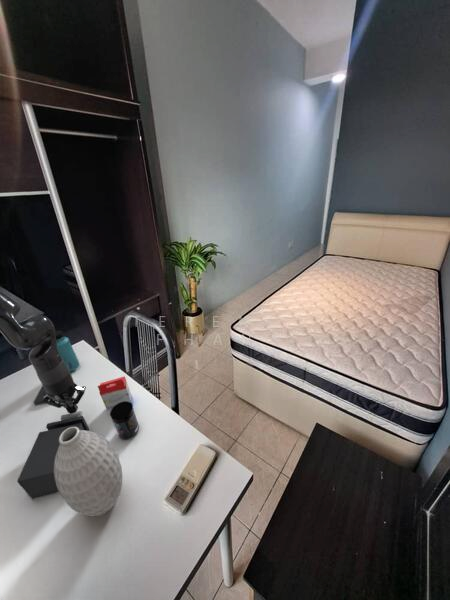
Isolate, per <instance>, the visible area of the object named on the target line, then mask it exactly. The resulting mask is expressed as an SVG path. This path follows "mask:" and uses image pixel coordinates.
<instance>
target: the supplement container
mask: <svg viewBox="0 0 450 600" xmlns="http://www.w3.org/2000/svg"><path fill="white" fill-rule="evenodd" d="M135 412H136V411H135V409H134V405H133V406H132V404H131V403H130V402H127V401H124V402H120V403H118V404H117V405H115V406H114V407H113V408H112V410H111V412H110V415H109V416H110V418H111V421H112V423H113V425H114V428H115V430H116V433H117V435H118V437H119V438H120V439H122V440H131V439H132V438H134V437H135V436H136V435H137V433H138V431H139V429H140V425H139V422H138V421H139V420H138V419H137V415H136V413H135Z"/></svg>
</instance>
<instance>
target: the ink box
mask: <svg viewBox="0 0 450 600" xmlns="http://www.w3.org/2000/svg"><path fill="white" fill-rule="evenodd" d="M97 389H98V392H99V395H100V398H101V400H102V402H103V405H104V407H105V409H106V411H107V413H108V414H107V415H109V416H110V412H111V410H112V408H113V407H114V406H115V405H117V404H118V403H120V402H124V401H127V402H130V403H131V404H132V406H133V407H134V401H133V396H132V393H131V390H130V386H129V384H128V382H127V379H126V376H121V377H116V378H114V379H110V380H107V381H104V382H100V383H99V384H98V385H97Z"/></svg>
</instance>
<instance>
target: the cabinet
mask: <svg viewBox="0 0 450 600" xmlns="http://www.w3.org/2000/svg"><path fill="white" fill-rule="evenodd" d="M70 427H77V428H79V430H84V428H83V426H82V424H81V423H79V424H74V425H70V426H65V427H61V428H56V429H52V430H48V429H47V430H44V431H43V430H42V431H40V432H38V435H37V437H36V439H35V441H34V442H33V445H32V448H31V449H30V452H29V454H28V457H27V458H26V460H25V463H24V465H23V467H22V469H21V472H20V474H19V476H18V478H17V480H16V482H17V484H19V486H20V487H21V488H22V489H23V490H24V491H25V493H26V494H27V495H28V496H29V497H30V499H31V500H35V499H38V498H43V497H45V496H49V495H54V494H57V493H60V492H59V491H58V488H57V485H56V482H55V477H54V461H55V456H56V453H57V450H58V448H59V445H60V443H59V437H60V435H61V434H62V432H63V431H65V430H66V429H68V428H70Z"/></svg>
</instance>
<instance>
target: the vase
mask: <svg viewBox="0 0 450 600" xmlns="http://www.w3.org/2000/svg"><path fill="white" fill-rule="evenodd" d="M59 443H60V445H59V448H58V450H57V453H56V456H55V461H54V477H55V482H56V485H57V488H58V491H59V492H58V493H59V494H60V496H61V497H62V499H63V500H64V502H65V503H66V504H67V505H68V506H69V507H70V508H71V509H72V510H73V511H75V512H76V513H78V514H80V515H83V516H87V517H99V516H101V515H104V514H106V513H107V512H109V511H110V510H111V509H112V508H113V507H114V506H115V505H116V503H117V502H118V500H119V498H120V496H121V492H122V488H123V477H124V476H123V470H122V469H123V468H122V464H121V461H120V458H119V456H118V453H117V452H116V450H115V448H114V446H113V445H112V443H111V442H110V441H109V440H108V439H107V438H105V437H104V436H103V435H101V434H99V433H98V432H95V431H93V430H92V431H91V430H90V431H85V430H79V428H77V427H70V428H68V429H66V430H65V431H63V432H62V434H61V435H60V437H59Z"/></svg>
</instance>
